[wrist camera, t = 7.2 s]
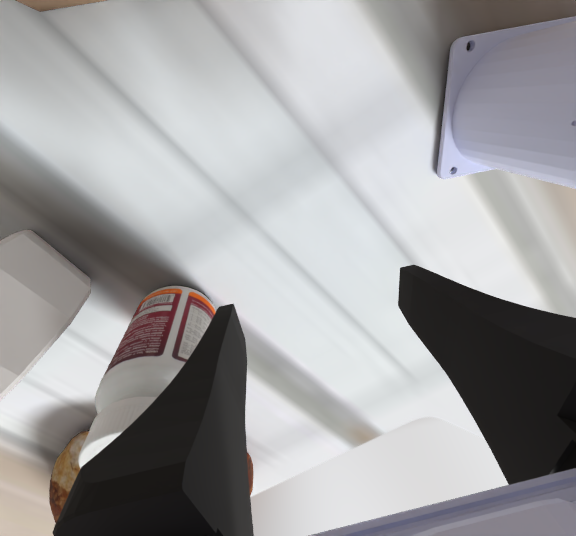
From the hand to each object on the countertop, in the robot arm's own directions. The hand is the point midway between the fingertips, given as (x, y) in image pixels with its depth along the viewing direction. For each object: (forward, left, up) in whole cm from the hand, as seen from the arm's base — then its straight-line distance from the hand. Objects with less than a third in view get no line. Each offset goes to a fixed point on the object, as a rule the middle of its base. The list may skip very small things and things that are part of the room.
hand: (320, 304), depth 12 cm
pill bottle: (+10, +6, -10) cm, 15 cm away
